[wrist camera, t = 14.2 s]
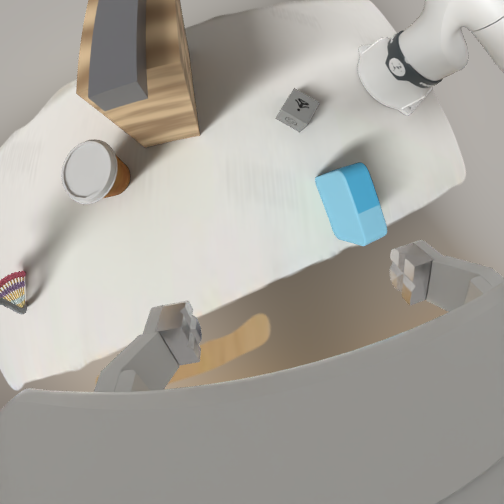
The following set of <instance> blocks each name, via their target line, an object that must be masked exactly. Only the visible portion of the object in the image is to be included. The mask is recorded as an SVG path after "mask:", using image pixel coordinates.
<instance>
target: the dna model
mask: <svg viewBox="0 0 504 504" xmlns="http://www.w3.org/2000/svg"><path fill="white" fill-rule="evenodd" d="M25 275H26V273H25V271H21V272H20V271H19V272H15V273H11V275H7V276H6V277H4V278H3V279H1V281H0V288H1V287H2V288H3V289H4V287H3V285H5V287H6V289H7V290H6V289H4V291H5V292H4V291H2V290H1V289H0V291H1V292H2V293H0V305H4V306H5V307H7V308H10V309H12V310H13V311H15V312H17V313H19V314H24V313H26V311H27V304H25V294H24V286H25V283H24V276H25ZM18 277H19V279H20V284H19V283H18V279H17V278H18ZM21 277H22V279H23V281H22V282H21ZM15 278H16V280H17V285H16V283H15V280H14V279H15ZM12 279H13V281H14V285H13V284H12V281H11V280H12ZM9 281H10V282H11V285H12V287H11V286H10V285H9V283H8V282H9ZM6 283H8V285H9V288H8V287H7V286H6ZM14 286H15V287H14ZM22 286H23V292H22ZM20 288H21V292H20ZM15 289H16V291H17V294H18V296H17V294H16V292H15ZM17 289H19V293H20V296H19V293H18V290H17ZM10 291H11V292H12V293H13V291H14V292H15V295H16V297H17V298H16V297H15V295H14V293H13V295H14V297H15V299H16V301H17V299H18V301H17V302H16V301H15V299H14V297H13V296H12V294H11V292H10ZM8 292H9V294H10V295H11V296H12V298H13V299H12V298H11V297H10V295H9V294H8ZM21 293H22V296H21ZM6 294H7V295H8V296H9V297H10V299H11V300H12V301H13V302H12V301H11V300H10V299H9V298H8V297H7V296H6ZM3 295H4V296H5V297H6V298H7V299H8V300H9V301H10V302H9V301H8V300H7V299H6V298H5V297H4V296H3ZM23 296H24V299H23ZM18 297H19V298H18ZM20 297H21V299H20ZM3 298H4V299H3ZM19 299H20V300H19ZM21 300H22V301H21ZM14 301H15V302H14ZM18 302H19V303H18ZM20 302H21V303H20ZM17 303H18V304H17ZM16 304H17V305H16Z"/></svg>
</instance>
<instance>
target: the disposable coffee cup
mask: <svg viewBox="0 0 504 504" xmlns="http://www.w3.org/2000/svg"><path fill="white" fill-rule="evenodd" d="M61 177H62V184H63V186H64V189H65V191H66V192H67V193H68V195H69V196H70V197H71V198H72V199H73V200H74V201H76V202H78V203H81V204H92V203H95V202H97V201H99V200H101V199H102V198H106V197H110V196H115V195H119V194H121V193H122V192H123V191H124V190H125V189H126V188H127V186H128V184H129V181H130V172H129V169H128V167H127V166H126V165H125V164H124V163H123V162H122V161H121V160H120V159H119V158H118V157H117V156H116V155H115V153H114V151H113V149H112V148H111V147H110V146H109V145H108V144H107V143H105V142H103V141H101V140H88V141H85V142H83V143H80V144H79V145H77V146H76V147H74V148H73V149H72V150H71V151H70V153H69V154H68V155H67V157H66V159H65V161H64V164H63V167H62V175H61Z"/></svg>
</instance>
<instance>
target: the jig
mask: <svg viewBox="0 0 504 504" xmlns="http://www.w3.org/2000/svg"><path fill="white" fill-rule="evenodd" d="M97 5H98V0H89V1H88V5H87V10H86V15H85V20H84V25H83V32H82V38H81V45H80V53H79V62H78V74H77V91H76V94H78V95H79V96H80V97H81V98H83V99H84V100H85V101H87V102H88V103H89V104H90V105H92V106H93V107H94V108H96V109H97V110H98V111H99V112H101V113H102V114H103V115H104V116H106V117H107V118H108V119H110V120H111V121H112V122H113V123H115V124H116V125H117V126H118V127H120V128H121V129H122V130H124V131H125V132H126V133H127V134H129V135H130V136H131V137H132V138H134V139H135V140H136V141H137V142H139V143H140V144H141V145H142V146H144V147H145V148H146V147H149V146H154V145H158V144H162V143H166V142H171V141H175V140H180V139H184V138H189V137H194V136H200V132H199V125H198V118H197V111H196V104H195V97H194V89H193V82H192V74H191V66H190V58H189V49H188V44H187V38H186V33H185V27H184V21H183V15H182V9H181V3H180V0H146V69H147V88H148V99H145V100H141V101H137V102H134V103H130V104H127V105H124V106H120V107H117V108H114V109H111V110H108V111H104V110H102V109H101V108H100V107H99V106H97V105H96V104H95V103H94V102H93V101H91V100H90V99H89V98H88V84H89V66H90V54H91V44H92V36H93V29H94V22H95V16H96V11H97Z"/></svg>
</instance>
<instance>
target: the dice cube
mask: <svg viewBox="0 0 504 504" xmlns="http://www.w3.org/2000/svg"><path fill="white" fill-rule="evenodd" d="M319 104H320V103H319V102H317V101H316V100H314V99H312V98H311V97H309V96H307V95H306V94H304V93H302V92H300V91H299V90H297V89H295V88H294V89H293V91H292V93H291V94H290V96H289V97H288V99H287V100H286V102H285V104H284V105H283V107H282V108H281V110H280V112H279V113H278V115H277V117H276V119H277V120H279V121H281V122H283V123H284V124H286V125H288V126H290V127H291V128H293V129H295V130H297V131H298V132H300V131H301V130H303V129H304V128H305V127H306V126H307V125H308V123H309V122H310V120H311V118H312V116H313V114H314V113H315V111H316V109H317V107H318V105H319Z"/></svg>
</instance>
